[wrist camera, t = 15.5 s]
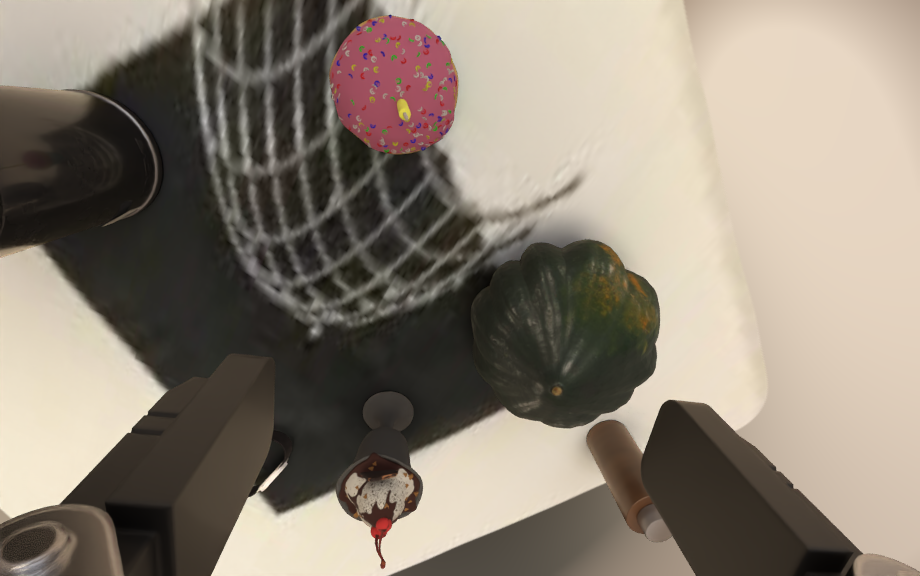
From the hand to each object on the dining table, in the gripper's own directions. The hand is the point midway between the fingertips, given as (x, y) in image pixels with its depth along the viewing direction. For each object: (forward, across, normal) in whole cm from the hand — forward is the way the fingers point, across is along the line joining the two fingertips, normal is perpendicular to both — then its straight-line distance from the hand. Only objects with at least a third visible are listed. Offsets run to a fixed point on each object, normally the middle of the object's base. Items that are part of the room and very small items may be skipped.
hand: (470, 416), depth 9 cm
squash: (+30, -11, +9) cm, 33 cm away
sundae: (+30, +2, +22) cm, 37 cm away
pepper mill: (+30, -21, +23) cm, 43 cm away
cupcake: (+30, +4, -7) cm, 31 cm away
